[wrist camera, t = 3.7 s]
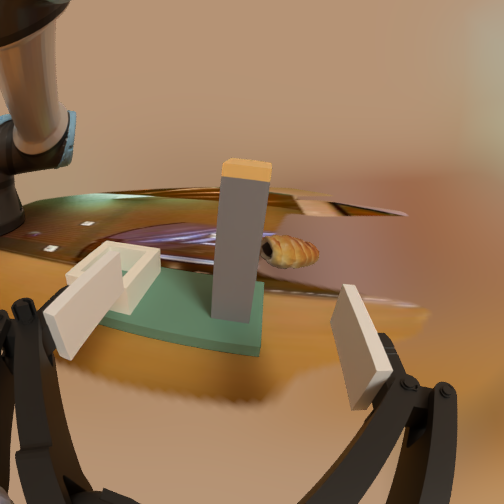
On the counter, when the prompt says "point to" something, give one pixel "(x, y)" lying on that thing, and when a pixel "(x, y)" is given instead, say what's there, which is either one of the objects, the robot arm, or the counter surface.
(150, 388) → the counter surface
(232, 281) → the plug
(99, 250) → the header
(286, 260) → the pastry
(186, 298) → the board
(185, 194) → the counter surface
